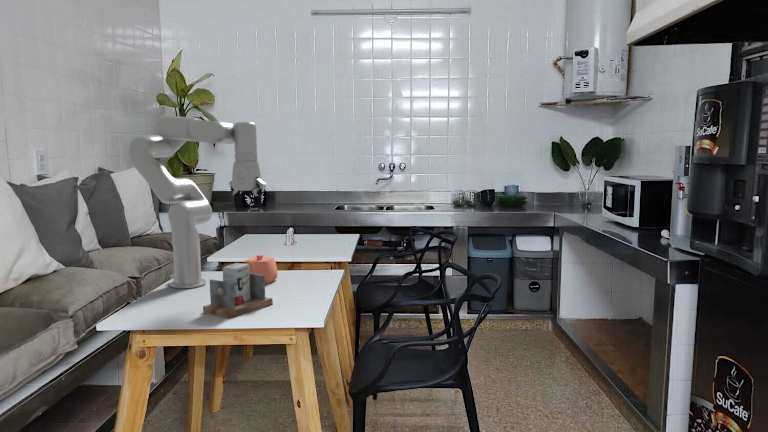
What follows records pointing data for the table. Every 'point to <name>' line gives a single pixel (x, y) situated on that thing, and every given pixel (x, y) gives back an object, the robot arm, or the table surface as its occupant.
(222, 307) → the wooden stand
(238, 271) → the ink box
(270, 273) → the teapot
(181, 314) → the table surface
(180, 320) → the table surface
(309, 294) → the table surface
